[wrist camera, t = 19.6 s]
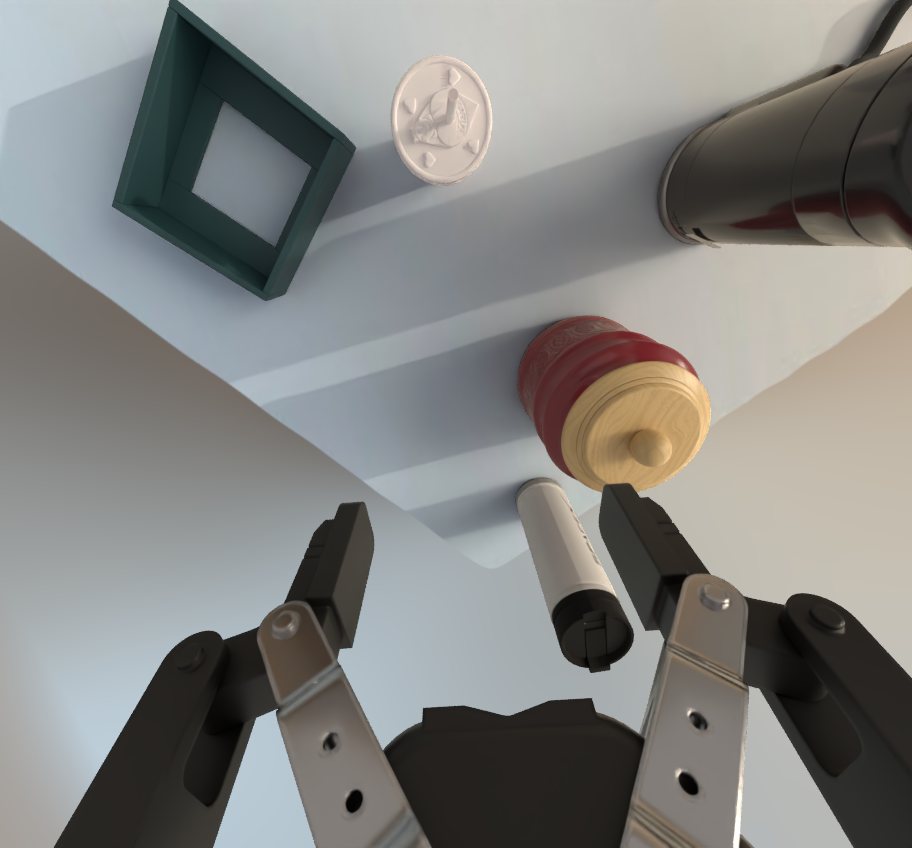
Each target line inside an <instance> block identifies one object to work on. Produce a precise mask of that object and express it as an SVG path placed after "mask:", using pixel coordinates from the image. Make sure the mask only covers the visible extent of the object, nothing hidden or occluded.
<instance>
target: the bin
mask: <svg viewBox="0 0 912 848" xmlns="http://www.w3.org/2000/svg"><path fill="white" fill-rule="evenodd" d="M223 100H224V101H226V102H227V103H228V104H230V105H231V106H232V107H234V108H235V109H236V110H238V111H239V112H240V113H242V114H243V115H244V116H246V117H247V118H248V119H250V120H251V121H252V122H254V123H255V124H256V125H258V126H259V127H260V128H262V129H263V130H264V131H266V132H267V133H268V134H270V135H271V136H272V137H274V138H275V139H276V140H278V141H279V142H280V143H281V144H283V145H284V146H285V147H287V148H288V149H289V150H291V151H292V152H293V153H295V154H296V155H297V156H299V157H300V158H301V159H303V160H304V161H305V162H307V163H308V164H309V165H311V166H312V168H311V170H310V173H309V175H308V177H307V179H306V181H305V184H304V186H303V188H302V190H301V192H300V195H299V197H298V199H297V201H296V203H295V206H294V208H293V210H292V212H291V214H290V216H289V219H288V221H287V223H286V225H285V227H284V230H283V232H282V234H281V236H280V238H279V241H278V243H277V245H276V247H273V246H272V245H270V244H269V243H267V242H266V241H264V240H263V239H261V238H260V237H258V236H257V235H255V234H254V233H252V232H251V231H249V230H248V229H246V228H245V227H243V226H242V225H240V224H239V223H237V222H236V221H234V220H233V219H231V218H230V217H228V216H227V215H225V214H224V213H222V212H221V211H219V210H218V209H216V208H215V207H213V206H211V205H210V204H208V203H207V202H205V201H204V200H202V199H201V198H199V197H198V196H196V195H195V194H193V193H192V192H191V191H192V188H193V185H194V182H195V179H196V176H197V174H198V171H199V168H200V165H201V162H202V159H203V157H204V154H205V151H206V148H207V145H208V142H209V140H210V137H211V134H212V131H213V128H214V125H215V123H216V120H217V117H218V114H219V111H220V108H221V106H222V103H223ZM355 150H356V147H355V146H354V145H353V144H352V142H351V141H350V140H349V139H348V138H347V137H346V136H345V135H344V134H343V133H342V132H341V131H340V130H338V129H337V128H336V127H335V126H333V125H332V124H331V123H330V122H328V121H327V120H326V119H325V118H323V117H322V116H321V115H320V114H318V113H317V112H316V111H315V110H313V109H312V108H311V107H310V106H308V105H307V104H306V103H305V102H303V101H302V100H301V99H300V98H298V97H297V96H296V95H295V94H293V93H292V92H291V91H290V90H289V89H287V88H286V87H285V86H284V85H282V84H281V83H280V82H279V81H277V80H276V79H275V78H274V77H272V76H271V75H270V74H269V73H267V72H266V71H265V70H264V69H262V68H261V67H260V66H259V65H257V64H256V63H255V62H254V61H252V60H251V59H250V58H249V57H247V56H246V55H245V54H244V53H242V52H241V51H240V50H239V49H237V48H236V47H235V46H234V45H232V44H231V43H230V42H229V41H228V40H226V39H225V38H224V37H223V36H221V35H220V34H219V33H218V32H216V31H215V30H214V29H213V28H211V27H210V26H209V25H208V24H206V23H205V22H204V21H203V20H201V19H200V18H199V17H198V16H196V15H195V14H194V13H193V12H191V11H190V10H189V9H188V8H186V7H185V6H184V5H183V4H181V3H180V2H179V1H178V0H170V1H169V7H168V8H167V12H166V15H165V19H164V23H163V26H162V30H161V33H160V37H159V40H158V44H157V47H156V51H155V55H154V58H153V62H152V65H151V69H150V72H149V76H148V79H147V83H146V87H145V90H144V94H143V97H142V101H141V104H140V108H139V111H138V115H137V119H136V122H135V126H134V129H133V133H132V136H131V140H130V143H129V147H128V151H127V154H126V158H125V161H124V165H123V168H122V172H121V175H120V179H119V183H118V186H117V190H116V193H115V197H114V200H113V204H112V207H114V208H115V209H117V210H119V211H120V212H122V213H124V214H125V215H127V216H128V217H130V218H132V219H133V220H135V221H137V222H138V223H140V224H141V225H143V226H145V227H146V228H148V229H149V230H151V231H153V232H154V233H156V234H158V235H159V236H161V237H162V238H164V239H166V240H167V241H169V242H171V243H172V244H174V245H175V246H177V247H179V248H180V249H182V250H184V251H185V252H187V253H188V254H190V255H192V256H193V257H195V258H197V259H198V260H200V261H201V262H203V263H205V264H206V265H208V266H209V267H211V268H213V269H214V270H216V271H218V272H219V273H221V274H222V275H224V276H226V277H227V278H229V279H231V280H232V281H234V282H235V283H237V284H239V285H240V286H242V287H244V288H245V289H247V290H248V291H250V292H252V293H253V294H255V295H257V296H258V297H260V298H261V299H263V300H265V301H268V300H271V299H274V298H276V297H279V296H282V295H284V294H285V293H286V291H287V289H288V287H289V285H290V283H291V281H292V279H293V277H294V275H295V273H296V271H297V269H298V266H299V264H300V262H301V260H302V258H303V256H304V254H305V252H306V250H307V248H308V246H309V244H310V242H311V240H312V238H313V236H314V234H315V232H316V230H317V228H318V226H319V224H320V222H321V219H322V217H323V215H324V213H325V211H326V209H327V207H328V205H329V203H330V201H331V199H332V197H333V195H334V193H335V191H336V189H337V187H338V185H339V183H340V181H341V179H342V177H343V175H344V172H345V170H346V168H347V166H348V164H349V162H350V160H351V158H352V156H353V155H352V154H354V152H355Z"/></svg>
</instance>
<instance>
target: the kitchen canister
mask: <svg viewBox="0 0 912 848" xmlns="http://www.w3.org/2000/svg"><path fill="white" fill-rule="evenodd" d="M518 391H519V396H520V399H521V402H522V405H523V407H524V409H525V411H526V412H527V414H528V415H529V417H530V418H531V419H532V420H533V422H534V424H535V428H536V431H537V433H538V435H539V437H540V439H541V441H542V442H543V443H544V445H545V447H546V450H547V452H548V454H549V456H550V458H551V460H552V461H553V462H554V464H555V465H556V466H557V467H558V468H559V469H560V470H561V471H562V472H564V473H565V474H567V475H568V476H570V477H571V478H573V479H576V480H578V481H580V482H581V483H582V484H584V485H585V486H587V487H589V488H591V489H594V490H596V491H600V492H603V487H604V485H606V484H617V483H630V484H631V485H632V486H633V488H634V489H635V491H636V492H639V491H643V490H646V489H649V488H652V487H654V486H657V485H659V484H661V483H663V482H664V481H666V480H668V479H669V478H671V477H673V476H674V475H675V474H676V473H678V472H679V471H680V470H682V469H683V468H684V467H685V466H686V465H687V464H688V463H689V462H690V461H691V460H692V458H693V457H694V456H695V455H696V453H697V452H698V450H699V449H700V447H701V445H702V444H703V441H704V439H705V437H706V435H707V432H708V429H709V424H710V418H711V406H710V401H709V397H708V394H707V392H706V390H705V388H704V386H703V385H702V383H701V382H700V381H699V378H698V375H697V373H696V371H695V369H694V368H693V366H692V365H691V364H690V362H689V361H688V360H687V359H686V358H685V357H684V356H683V355H682V354H680V353H679V352H677V351H676V350H674V349H672V348H670V347H668V346H665V345H663V344H659V343H657V342H656V341H654V340H653V339H651V338H649V337H647V336H645V335H642V334H639V333H635V332H631V331H628V330H627V329H626V328H625V327H623V326H622V325H620V324H619V323H617V322H614V321H612V320H610V319H607V318H604V317H599V316H576V317H570V318H567V319H563V320H561V321H558V322H556V323H554V324H552V325H551V326H549V327H547V328H546V329H545V330H543V331H542V332H541V333H540V334H539V335H538V336H537V337H536V338H535V339H534V340H533V341H532V342H531V344H530V345H529V346H528V348H527V350H526V351H525V353H524V355H523V358H522V360H521V363H520V367H519V373H518Z"/></svg>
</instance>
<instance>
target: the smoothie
mask: <svg viewBox="0 0 912 848" xmlns="http://www.w3.org/2000/svg"><path fill="white" fill-rule="evenodd" d="M391 128H392V136H393V140H394V143H395V147H396V150H397V152H398V154H399V156H400V158H401V160H402V162H403V163H404V164H405V165H406V166H407V168H408V169H409V170H410V171H411V172H412V173H413V174H414V175H416V176H417V177H418V178H420V179H421V180H423V181H425V182H428V183H431V184H434V185H451V184H455V183H458V182H460V181H462V180H464V179H465V178H467V177H468V176H470V175H471V174H472V173H473V172H474V171H475V170H476V168H477V167H478V166H479V165H480V163H481V162H482V160H483V158H484V156H485V154H486V152H487V149H488V145H489V142H490V138H491V133H492V109H491V103H490V99H489V96H488V93H487V91H486V88H485V86H484V84H483V83H482V81H481V79H480V78H479V76H478V75H477V74H476V73H475V72H474V71H473V69H472V68H470V67H469V66H468V65H467V64H465V63H464V62H462V61H460V60H459V59H456V58H454V57H450V56H445V55H436V56H430V57H427V58H424V59H422V60H420V61H418V62H417V63H415V64H414V65H413V66H412V67H411V68H410V69H408V71H407V72H406V73H405V74H404V76H403V77H402V78H401V80H400V82H399V84H398V86H397V88H396V91H395V94H394V97H393V101H392V107H391Z"/></svg>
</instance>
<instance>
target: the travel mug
mask: <svg viewBox="0 0 912 848" xmlns="http://www.w3.org/2000/svg"><path fill="white" fill-rule="evenodd" d="M516 505H517V509H518V512H519V515H520V518H521V522H522V525H523V528H524V532H525V535H526V538H527V542H528V545H529V548H530V551H531V555H532V558H533V561H534V564H535V568H536V571H537V574H538V577H539V581H540V584H541V588H542V591H543V594H544V597H545V601H546V604H547V607H548V611H549V614H550V617H551V620H552V623H553V625H554V628H555V631H556V635H557V638H558V641H559V645H560V648H561V651H562V653H563V655H564V657H565V658H566V659H567V660H568V661H570V662H571V663H573V664H574V665H577V666H579V667H585V668H589V670H590V673H594V672H601V671H606V670H610V664H612V663H614V662H616V661H618V660H620V659H621V658H622V657H623V656H625V654H626V653H627V652H628V651H629V649H630V648H631V646H632V643H633V639H634V633H633V629H632V627H631V625H630V623H629V621H628V619H627V617H626V615H625V613H624V611H623V609H622V607H621V605H620V601H619V600H618V597H617V595H616V594H615V591H614V589H613V587H612V586H611V584H610V582H609V580H608V578H607V576H606V574H605V572H604V570H603V568H602V566H601V564H600V562H599V560H598V558H597V556H596V554H595V552H594V550H593V548H592V546H591V544H590V542H589V540H588V538H587V536H586V534H585V532H584V530H583V528H582V526H581V524H580V522H579V520H578V518H577V516H576V514H575V512H574V510H573V508H572V506H571V504H570V502H569V501H568V499H567V497H566V495H565V493H564V491H563V489H562V487H561V485H560V484H559V483H557V482H556V481H554V480H552V479H548V478H537V479H533V480H531V481H529V482H527V483H525V484H524V485H523V486H522V487H521V488H520V490H519V491H518V493H517V495H516Z"/></svg>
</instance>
